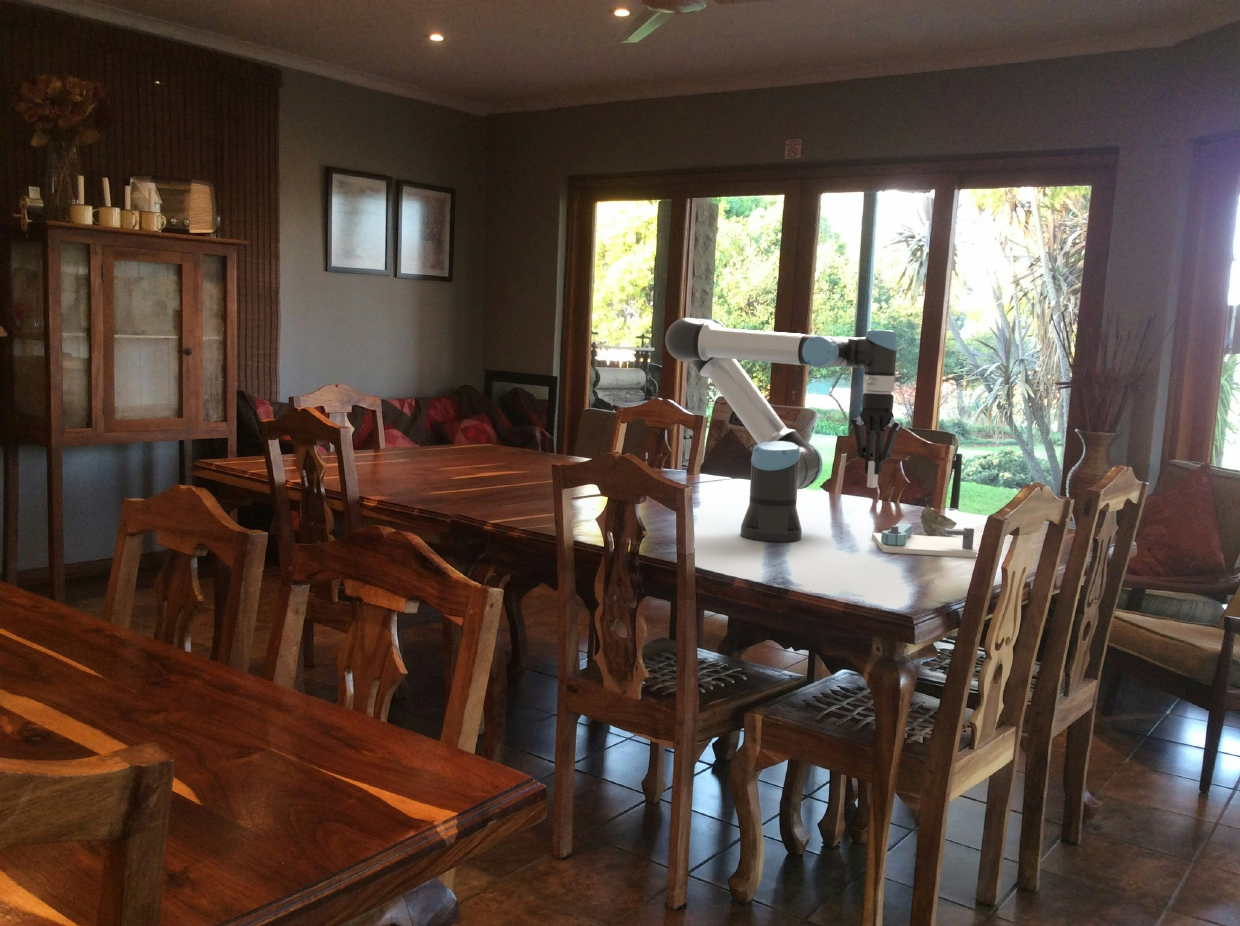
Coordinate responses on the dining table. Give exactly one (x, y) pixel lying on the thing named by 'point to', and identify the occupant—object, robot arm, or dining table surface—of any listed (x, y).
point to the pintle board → (933, 543)
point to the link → (897, 535)
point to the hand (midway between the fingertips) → (872, 486)
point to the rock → (935, 522)
